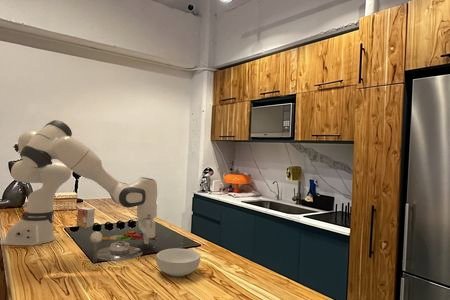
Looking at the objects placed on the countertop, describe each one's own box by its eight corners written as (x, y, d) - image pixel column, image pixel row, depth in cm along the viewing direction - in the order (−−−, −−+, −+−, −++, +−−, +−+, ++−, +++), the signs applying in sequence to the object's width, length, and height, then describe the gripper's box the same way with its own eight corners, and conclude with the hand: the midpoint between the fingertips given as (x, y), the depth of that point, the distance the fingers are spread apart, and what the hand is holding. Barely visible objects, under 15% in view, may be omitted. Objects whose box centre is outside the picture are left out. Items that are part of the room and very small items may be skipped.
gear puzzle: (100, 248, 148) (101, 240, 148) (89, 240, 160) (90, 232, 160) (160, 239, 168) (160, 232, 168) (146, 232, 180) (146, 225, 180)
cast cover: (117, 256, 133) (118, 245, 133) (106, 252, 137) (106, 241, 137) (133, 252, 139) (133, 241, 139) (121, 248, 144) (121, 238, 144)
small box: (76, 226, 185) (77, 208, 185) (83, 224, 190) (84, 206, 190) (86, 228, 182) (87, 209, 182) (94, 226, 187) (95, 208, 187)
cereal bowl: (180, 285, 111) (181, 265, 111) (146, 273, 120) (147, 255, 120) (207, 271, 125) (208, 253, 125) (176, 262, 134) (176, 245, 134)
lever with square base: (87, 268, 122) (89, 233, 122) (89, 263, 127) (91, 229, 127) (100, 268, 123) (101, 233, 123) (101, 263, 128) (103, 229, 128)
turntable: (115, 267, 124) (116, 252, 124) (84, 256, 135) (85, 242, 135) (157, 252, 144) (158, 240, 144) (127, 244, 154) (128, 232, 154)
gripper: (159, 216, 136) (158, 248, 136) (149, 208, 155) (148, 237, 155) (144, 217, 134) (143, 250, 133) (136, 209, 152) (135, 238, 152)
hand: (146, 243), depth 144 cm, fingers closed
